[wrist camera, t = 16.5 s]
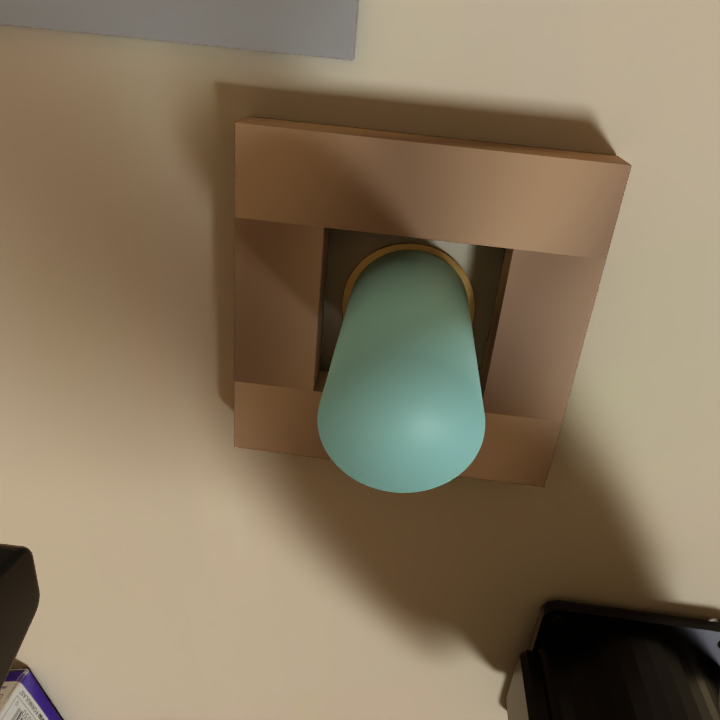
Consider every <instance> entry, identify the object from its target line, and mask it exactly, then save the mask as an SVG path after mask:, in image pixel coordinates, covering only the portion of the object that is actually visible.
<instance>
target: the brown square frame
mask: <svg viewBox="0 0 720 720" xmlns="http://www.w3.org/2000/svg"><path fill="white" fill-rule="evenodd" d="M631 166H632V165H630V164H629V163H627V162H626V161H624V160H623V159H621V158H620V157H619V156H612V155H603V154H594V153H584V152H575V151H566V150H556V149H547V148H538V147H528V146H519V145H510V144H500V143H491V142H482V141H473V140H463V139H454V138H445V137H435V136H426V135H417V134H407V133H398V132H389V131H379V130H370V129H361V128H351V127H342V126H333V125H323V124H314V123H305V122H295V121H286V120H277V119H267V118H258V117H249V116H248V117H246V118H244V119H242V120H240V121H238V122H236V123H235V364H234V447H239V448H246V449H254V450H262V451H270V452H277V453H285V454H293V455H300V456H308V457H316V458H324V459H331V458H330V457H329V455H328V454H327V452H326V450H325V448H324V446H323V444H322V442H321V439H320V436H319V431H318V424H317V415H318V408H319V404H320V400H321V397H322V393H323V390H324V386H325V383H326V379H327V376H328V372H325V371H320V359H321V345H322V330H323V316H324V301H325V287H326V273H327V258H328V244H329V229H330V228H334V229H342V230H351V231H360V232H369V233H377V234H386V235H395V236H404V237H412V238H421V239H430V240H439V241H448V242H456V243H465V244H474V245H483V246H491V247H500V248H506V249H505V255H504V260H503V265H502V270H501V275H500V280H499V285H498V290H497V295H496V300H495V305H494V310H493V316H492V321H491V326H490V331H489V336H488V341H487V346H486V351H485V356H484V361H483V366H482V372H481V377H480V386H481V393H482V400H483V407H484V414H485V433H484V438H483V442H482V445H481V447H480V450H479V452H478V454H477V455H476V457H475V458H474V460H473V461H472V463H471V464H470V465H469V466H468V467H467V468H466V469H465V470H464V471H463V472H462V473H461V474H460V475H458V476H463V477H470V478H478V479H486V480H494V481H501V482H509V483H517V484H525V485H532V486H540V487H545V483H546V480H547V476H548V472H549V468H550V465H551V461H552V457H553V454H554V450H555V446H556V443H557V439H558V435H559V432H560V428H561V424H562V420H563V417H564V413H565V409H566V406H567V402H568V398H569V395H570V391H571V387H572V384H573V380H574V376H575V372H576V369H577V365H578V361H579V358H580V354H581V350H582V347H583V343H584V339H585V336H586V332H587V328H588V324H589V321H590V317H591V313H592V310H593V306H594V302H595V299H596V295H597V291H598V288H599V284H600V280H601V276H602V273H603V269H604V265H605V262H606V258H607V254H608V251H609V247H610V243H611V239H612V236H613V232H614V228H615V225H616V221H617V217H618V214H619V210H620V206H621V203H622V199H623V195H624V191H625V188H626V184H627V180H628V177H629V173H630V169H631ZM407 249H409V250H420V251H425V252H428V253H431V254H433V255H436V256H438V257H440V258H441V259H443V260H444V261H446V262H447V263H448V264H449V265H451V266H452V267H453V268H454V270H455V271H456V272H457V273H458V275H459V276H460V278H461V279H462V281H463V283H464V286H465V289H466V292H467V297H468V303H469V310H470V317H471V324H472V322H473V318H474V312H475V299H474V294H473V289H472V286H471V283H470V281H469V279H468V277H467V275H466V274H465V272H464V271H463V269H462V268H461V267H460V266H459V265H458V264H457V262H455V261H454V260H453V259H452V258H451V257H450V256H448V255H446V254H445V253H443V252H442V251H439V250H437V249H435V248H433V247H429V246H426V245H421V244H414V243H403V244H395V245H390V246H387V247H384V248H381V249H379V250H377V251H375V252H373V253H372V254H370V255H369V256H367V257H366V258H365V259H364V260H363V261H361V262H360V263H359V264H358V266H357V267H356V268H355V269H354V271H353V272H352V274H351V275H350V277H349V279H348V281H347V284H346V287H345V290H344V294H343V300H342V311H343V317H344V316H345V313H346V309H347V306H348V302H349V299H350V295H351V292H352V288H353V285H354V283H355V281H356V279H357V277H358V276H359V274H360V273H361V272H362V270H363V269H364V268H365V267H366V266H367V265H368V264H370V263H371V262H372V261H373V260H375V259H376V258H378V257H380V256H382V255H384V254H387V253H390V252H393V251H398V250H407Z"/></svg>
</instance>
